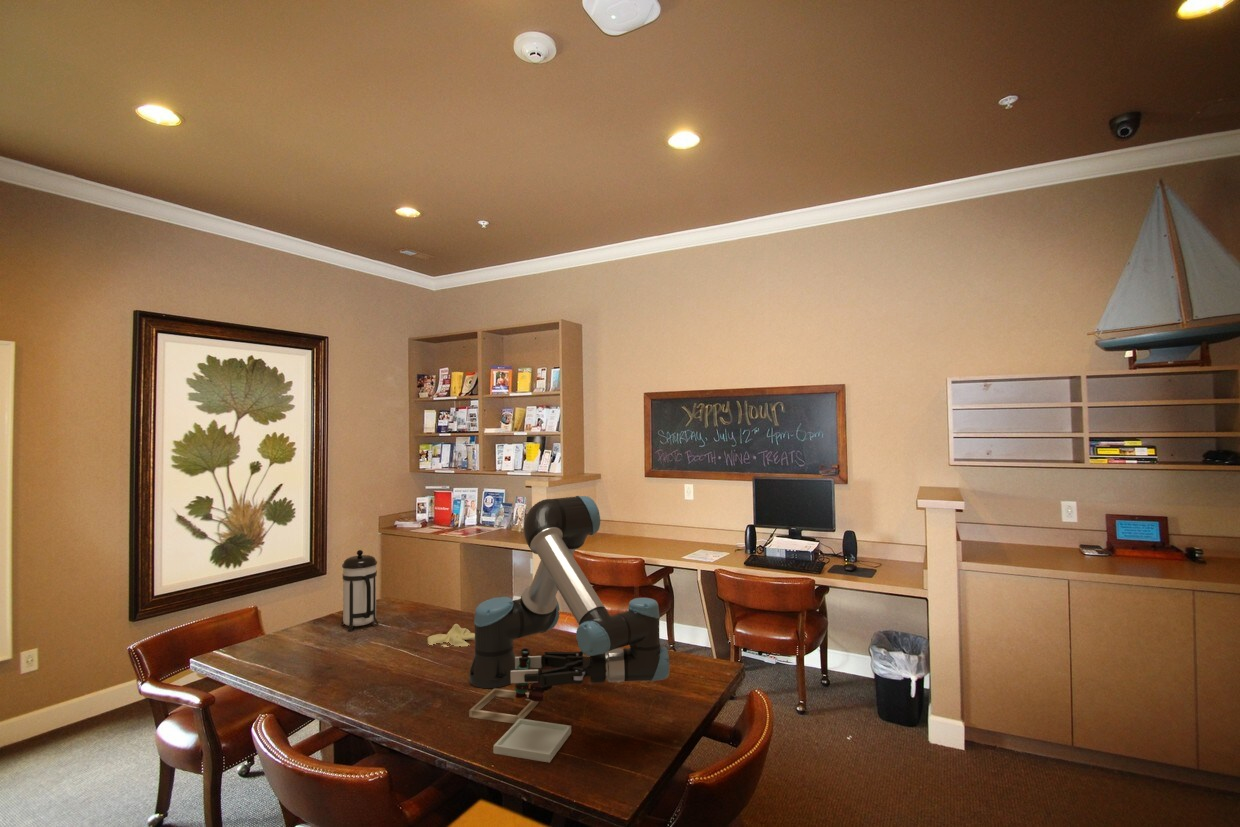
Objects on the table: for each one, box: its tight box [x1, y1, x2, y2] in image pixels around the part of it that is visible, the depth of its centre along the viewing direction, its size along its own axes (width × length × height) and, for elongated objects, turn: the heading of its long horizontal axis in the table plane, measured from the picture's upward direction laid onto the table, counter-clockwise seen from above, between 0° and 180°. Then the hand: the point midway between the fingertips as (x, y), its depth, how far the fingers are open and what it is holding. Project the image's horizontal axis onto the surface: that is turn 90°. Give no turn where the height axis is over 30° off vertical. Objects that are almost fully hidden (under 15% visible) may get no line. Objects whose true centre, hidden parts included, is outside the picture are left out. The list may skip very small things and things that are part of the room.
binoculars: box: [513, 647, 553, 703], centre depth 140 cm, size 9×11×10 cm
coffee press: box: [340, 549, 379, 632], centre depth 228 cm, size 17×16×30 cm
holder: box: [468, 688, 540, 725], centre depth 157 cm, size 15×14×2 cm
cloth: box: [426, 623, 475, 648], centre depth 211 cm, size 22×19×6 cm
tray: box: [493, 718, 572, 763], centre depth 139 cm, size 14×13×2 cm
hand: (513, 669), depth 140 cm, fingers closed on binoculars, 8 cm apart
